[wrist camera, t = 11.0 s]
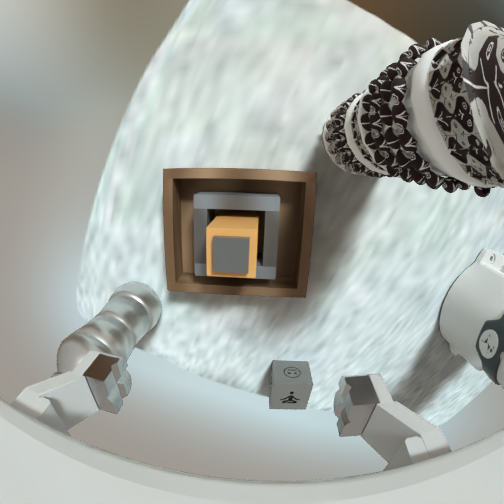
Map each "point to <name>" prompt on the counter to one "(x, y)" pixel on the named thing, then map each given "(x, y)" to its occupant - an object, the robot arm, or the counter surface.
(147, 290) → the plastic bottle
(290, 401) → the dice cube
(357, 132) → the decorative candle
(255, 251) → the block
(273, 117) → the counter surface
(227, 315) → the counter surface
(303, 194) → the walled box
